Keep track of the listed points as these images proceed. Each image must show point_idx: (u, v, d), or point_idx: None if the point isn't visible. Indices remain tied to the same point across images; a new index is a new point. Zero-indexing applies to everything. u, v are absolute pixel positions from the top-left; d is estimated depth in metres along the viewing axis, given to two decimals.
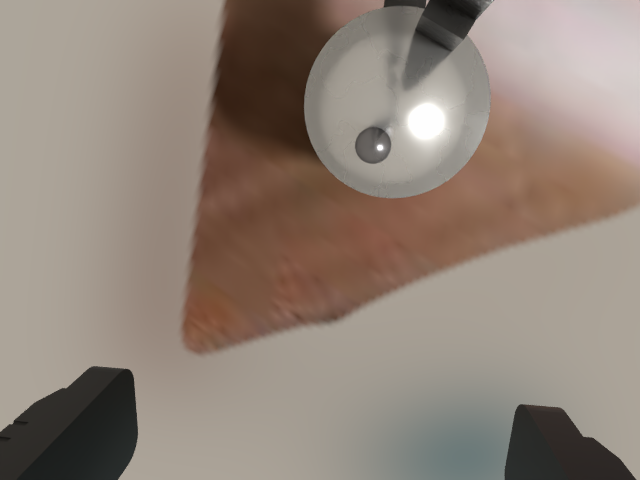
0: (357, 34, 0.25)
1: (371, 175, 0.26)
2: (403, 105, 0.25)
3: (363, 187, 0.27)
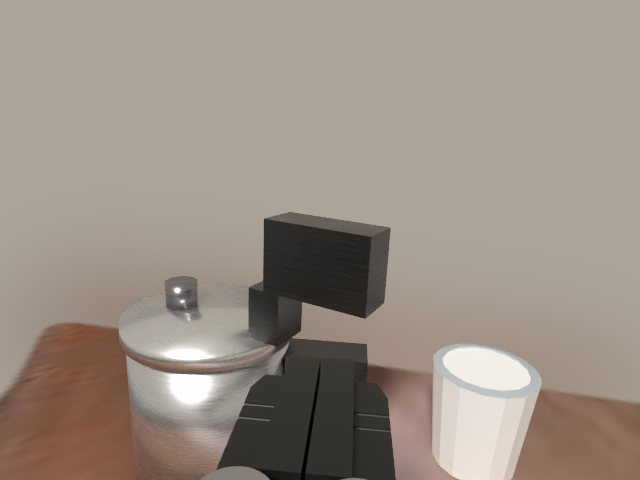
0: None
1: (155, 303, 0.29)
2: (209, 316, 0.27)
3: (146, 299, 0.29)
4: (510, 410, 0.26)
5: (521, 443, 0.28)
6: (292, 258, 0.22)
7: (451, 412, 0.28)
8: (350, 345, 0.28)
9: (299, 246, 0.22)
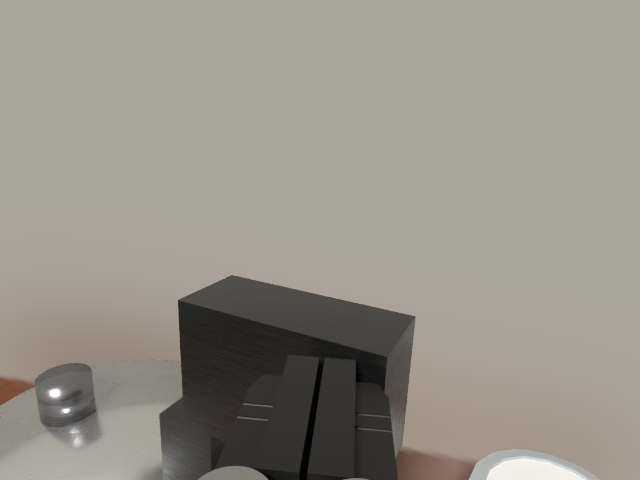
0: None
1: (23, 410, 0.18)
2: (107, 439, 0.17)
3: (12, 403, 0.18)
4: None
5: None
6: (232, 377, 0.12)
7: None
8: None
9: (244, 357, 0.11)
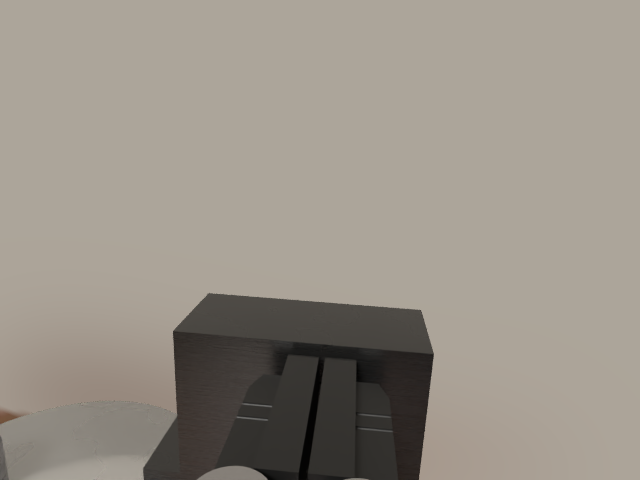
0: (169, 429, 0.17)
1: None
2: None
3: None
4: None
5: None
6: None
7: None
8: None
9: None
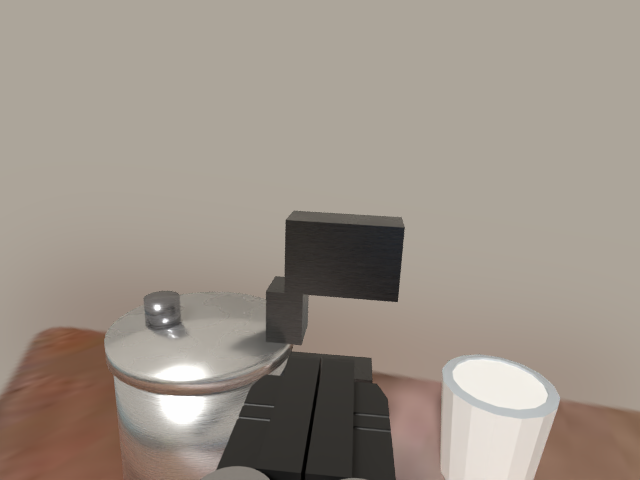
0: (257, 303, 0.29)
1: (130, 326, 0.25)
2: (206, 329, 0.26)
3: (117, 324, 0.26)
4: (526, 430, 0.24)
5: (537, 464, 0.26)
6: (319, 256, 0.23)
7: (462, 431, 0.26)
8: (354, 359, 0.27)
9: (327, 243, 0.22)
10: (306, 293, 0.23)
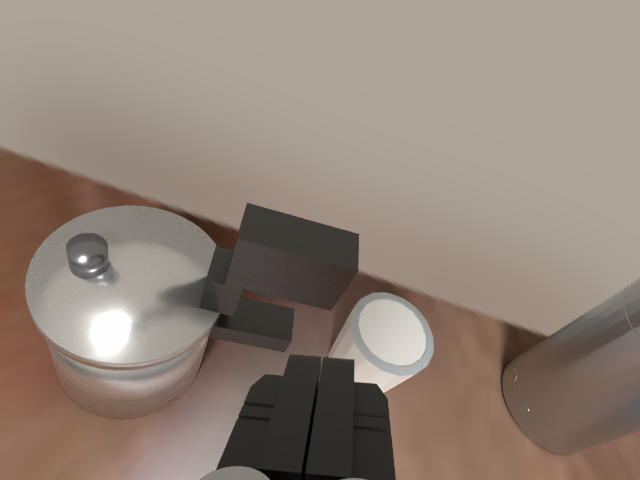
0: (192, 234, 0.28)
1: (52, 269, 0.24)
2: (138, 281, 0.25)
3: (36, 264, 0.24)
4: (399, 378, 0.31)
5: None
6: (266, 270, 0.22)
7: None
8: (278, 309, 0.29)
9: (277, 264, 0.22)
10: (246, 289, 0.23)
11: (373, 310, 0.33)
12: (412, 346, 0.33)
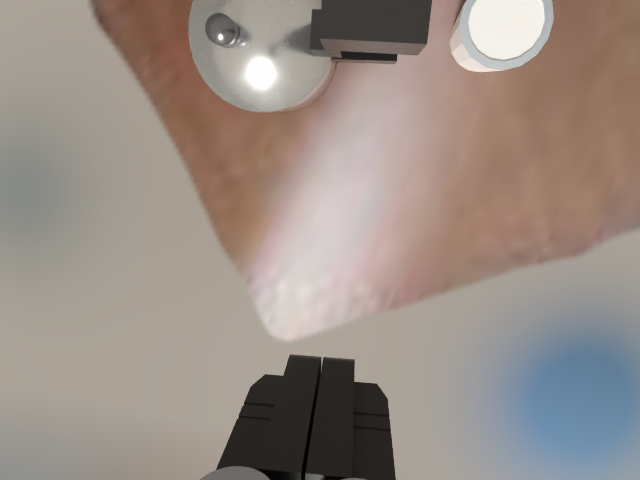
0: None
1: (205, 45, 0.32)
2: (263, 41, 0.32)
3: (193, 43, 0.32)
4: None
5: None
6: (352, 45, 0.26)
7: (463, 54, 0.36)
8: None
9: (358, 44, 0.26)
10: None
11: None
12: (525, 35, 0.33)
